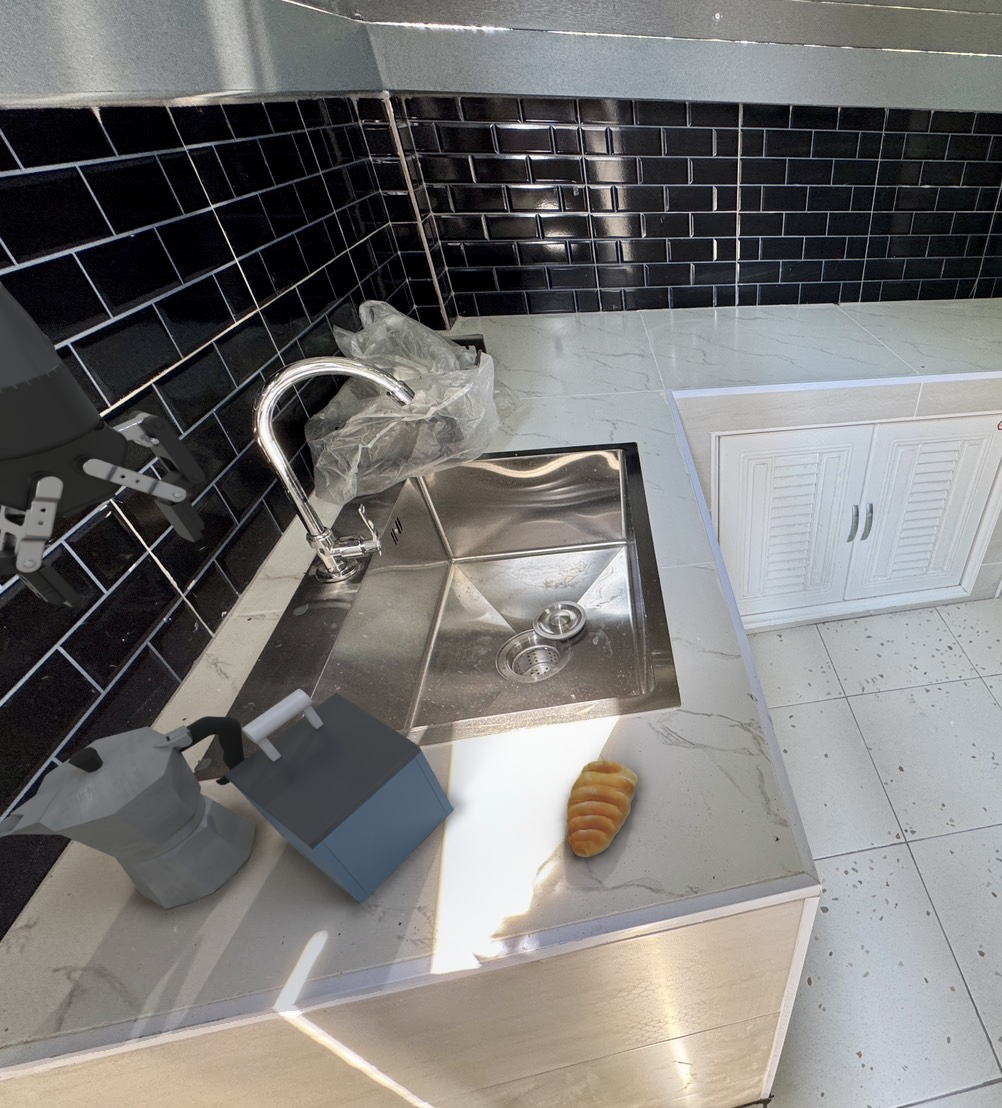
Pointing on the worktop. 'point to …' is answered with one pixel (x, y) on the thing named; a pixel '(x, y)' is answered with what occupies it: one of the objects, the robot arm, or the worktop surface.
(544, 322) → the worktop surface
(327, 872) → the blue-grey box
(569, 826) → the pastry
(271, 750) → the grey box lid
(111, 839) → the coffeepot
